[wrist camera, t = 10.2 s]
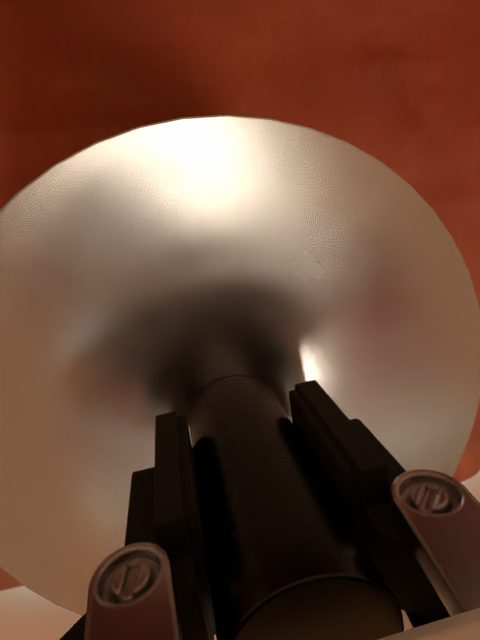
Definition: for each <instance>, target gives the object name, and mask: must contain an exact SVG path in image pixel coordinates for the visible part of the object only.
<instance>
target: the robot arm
mask: <svg viewBox="0 0 480 640" xmlns="http://www.w3.org/2000/svg"><path fill="white" fill-rule="evenodd" d="M289 400H290V408H291V415H292V423H293V425H294V427H295V429H296V430H297V432H298V434H299V435H300V437H301V439H302V440H303V442H304V444H305V446H306V447H307V449H308V451H309V452H310V454H311V456H312V457H313V459H314V461H315V462H316V464H317V466H318V468H319V469H320V471H321V473H322V474H323V476H324V478H325V479H326V481H327V483H328V484H329V486H330V488H331V490H332V491H333V493H334V495H335V496H336V498H337V500H338V501H339V503H340V505H341V506H342V508H343V510H344V511H345V513H346V515H347V517H348V518H349V520H350V522H351V523H352V525H353V527H354V528H355V530H356V532H357V533H358V535H359V537H360V539H361V540H362V542H363V544H364V545H365V547H366V549H367V550H368V552H369V554H370V555H371V557H372V559H373V561H374V562H375V564H376V566H377V567H378V569H379V571H380V572H381V574H382V576H383V577H384V579H385V581H386V583H387V584H388V586H389V588H390V589H391V591H392V593H393V594H394V596H395V598H396V600H397V601H398V603H399V605H400V608H401V611H402V615H403V622H404V628H405V630H406V631H403V632H400V633H397V634H393V635H390V636H387V637H384V638H381V639H377V640H480V503H479V502H478V501H477V499H475V497H474V496H473V495H472V494H471V493H470V492H469V491H468V490H467V489H466V488H465V486H464V485H462V484H461V483H460V482H459V481H458V480H456V479H455V478H453V477H451V476H449V475H447V474H445V473H441V472H438V471H434V470H425V469H419V470H411V471H408V472H407V471H406V470H405V469H404V468H403V467H402V466H401V464H400V463H399V462H398V461H397V460H396V459H395V458H394V457H393V456H392V455H391V453H390V452H389V451H388V450H387V449H386V448H385V447H384V446H383V445H382V444H381V442H380V441H379V440H378V439H377V438H376V437H375V436H374V435H373V434H372V432H371V431H370V430H369V429H368V428H367V427H366V426H365V425H364V424H363V423H362V421H360V420H359V419H356V418H355V419H351V420H349V418H348V417H347V416H346V415H345V414H344V413H343V411H342V410H341V409H340V408H339V407H338V406H337V405H336V403H335V402H334V401H333V400H332V399H331V398H330V396H329V395H328V394H327V393H326V392H325V391H324V389H323V388H322V387H321V386H320V385H319V384H318V382H317V381H316V380H311V381H307V382H303V383H298V384H295V390H291V391H289ZM214 635H216V629H215V622H214V614H213V606H212V598H211V590H210V583H209V575H208V562H207V554H206V547H205V539H204V531H203V524H202V516H201V508H200V501H199V493H198V485H197V478H196V470H195V462H194V455H193V448H192V444H191V439H190V434H189V430H188V425H187V420H186V416H185V415H181V416H178V415H177V412H176V411H174V412H170V413H165V414H161V415H156V420H155V466H154V467H152V468H148V469H143V470H139V471H135V472H133V473H132V478H131V487H130V497H129V507H128V516H127V526H126V535H125V545H124V547H122V548H120V549H118V550H116V551H115V552H113V553H112V554H110V555H109V556H108V557H106V558H105V559H104V560H103V562H102V563H101V564H100V565H99V566H98V567H97V569H96V570H95V572H94V574H93V575H92V577H91V581H90V584H89V588H88V599H87V611H86V613H85V614H84V615H83V616H82V617H81V618H80V619H79V620H78V621H77V623H75V624H74V625H73V627H72V628H71V629H70V630H69V631H68V632H67V633H66V634H65V635H64V636H63V637H62V638H61V639H60V640H214Z"/></svg>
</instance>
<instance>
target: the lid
mask: <svg viewBox="0 0 480 640" xmlns="http://www.w3.org/2000/svg"><path fill="white" fill-rule="evenodd" d="M311 380H316V381H317V382H318V384H319V385H320V386H321V387H322V388H323V389H324V391H325V392H326V393H327V394H328V395H329V396H330V398H331V399H332V400H333V401H334V402H335V403H336V405H337V406H338V407H339V408H340V409H341V410H342V411H343V413H344V414H345V415H346V416H347V417H348V418H349V420H351V419H355V418H356V419H359V420H360V421H362V423H363V424H364V425H365V426H366V427H367V428H368V429H369V430H370V431H371V432H372V434H373V435H374V436H375V437H376V438H377V439H378V440H379V441H380V442H381V444H382V445H383V446H384V447H385V448H386V449H387V450H388V451H389V452H390V453H391V455H392V456H393V457H394V458H395V459H396V460H397V461H398V462H399V463H400V464H401V466H402V467H403V468H404V469H405V470H406V471H407V472H408V471H411V470H419V469H425V470H434V471H438V472H441V473H445V474H447V475H449V476H451V477H452V476H453V474H454V472H455V470H456V468H457V466H458V463H459V461H460V459H461V457H462V455H463V453H464V451H465V449H466V446H467V443H468V440H469V437H470V434H471V431H472V428H473V425H474V422H475V419H476V414H477V409H478V404H479V400H480V311H479V306H478V300H477V296H476V293H475V290H474V287H473V284H472V281H471V278H470V275H469V272H468V269H467V266H466V264H465V262H464V260H463V258H462V256H461V254H460V252H459V250H458V248H457V246H456V244H455V242H454V240H453V238H452V236H451V235H450V234H449V232H448V231H447V229H446V228H445V226H444V225H443V223H442V222H441V220H440V219H439V217H438V216H437V215H436V213H435V212H434V210H433V209H432V208H431V207H430V206H429V205H428V204H427V203H426V202H425V201H424V199H423V198H422V197H421V196H420V195H419V194H418V193H417V192H416V191H415V190H414V189H413V188H412V187H411V185H410V184H409V183H407V182H406V181H405V180H404V179H402V178H401V177H400V176H399V175H397V174H396V173H395V172H394V171H392V170H391V169H390V168H388V167H387V166H386V165H385V164H383V163H382V162H381V161H380V160H378V159H376V158H374V157H373V156H371V155H369V154H367V153H366V152H364V151H362V150H361V149H359V148H357V147H355V146H354V145H352V144H350V143H348V142H347V141H344V140H341V139H339V138H336V137H334V136H331V135H329V134H326V133H324V132H321V131H319V130H316V129H314V128H311V127H308V126H303V125H299V124H295V123H290V122H286V121H282V120H277V119H273V118H268V117H256V116H244V115H232V114H220V115H204V116H188V117H179V118H174V119H170V120H165V121H160V122H155V123H151V124H146V125H141V126H137V127H134V128H132V129H129V130H126V131H123V132H121V133H118V134H115V135H112V136H110V137H107V138H104V139H102V140H99V141H96V142H94V143H92V144H90V145H88V146H86V147H85V148H83V149H81V150H79V151H77V152H75V153H74V154H72V155H70V156H68V157H66V158H64V159H62V160H61V161H59V162H57V163H55V164H54V165H52V166H51V167H50V168H48V169H47V170H46V171H44V172H43V173H42V174H40V175H39V176H38V177H36V178H35V179H34V180H32V181H31V182H30V183H28V184H27V185H26V186H24V187H23V188H22V189H20V190H19V191H18V192H17V193H16V194H15V195H14V196H13V197H12V198H11V199H10V200H9V201H8V202H7V203H6V204H5V205H4V206H3V207H2V208H1V209H0V567H1V568H2V569H3V570H5V571H6V572H7V573H9V574H10V575H11V576H13V577H14V578H15V579H16V580H18V581H19V582H20V583H22V584H23V585H24V586H26V587H27V588H28V589H30V590H32V591H33V592H36V593H37V594H39V595H41V596H42V597H44V598H46V599H47V600H49V601H51V602H53V603H55V604H56V605H58V606H61V607H63V608H65V609H68V610H70V611H73V612H75V613H77V614H80V615H82V616H83V615H84V614H85V613H86V611H87V599H88V588H89V584H90V581H91V577H92V575H93V574H94V572H95V570H96V569H97V567H98V566H99V565H100V564H101V563H102V562H103V560H104V559H105V558H106V557H108V556H109V555H110V554H112V553H113V552H115V551H116V550H118V549H120V548H122V547H124V545H125V535H126V526H127V516H128V507H129V497H130V487H131V478H132V473H133V472H135V471H139V470H143V469H148V468H152V467H154V466H155V420H156V415H161V414H165V413H170V412H174V411H176V412H177V415H178V416H181V415H185V416H186V420H187V425H188V430H189V434H190V439H191V444H192V448H193V455H194V462H195V470H196V478H197V485H198V493H199V501H200V508H201V516H202V524H203V531H204V539H205V547H206V554H207V562H208V575H209V583H210V590H211V598H212V606H213V614H214V622H215V629H216V637H217V640H377V639H381V638H384V637H387V636H390V635H393V634H397V633H400V632H403V631H404V622H403V615H402V611H401V608H400V605H399V603H398V601H397V600H396V598H395V596H394V594H393V593H392V591H391V589H390V588H389V586H388V584H387V583H386V581H385V579H384V577H383V576H382V574H381V572H380V571H379V569H378V567H377V566H376V564H375V562H374V561H373V559H372V557H371V555H370V554H369V552H368V550H367V549H366V547H365V545H364V544H363V542H362V540H361V539H360V537H359V535H358V533H357V532H356V530H355V528H354V527H353V525H352V523H351V522H350V520H349V518H348V517H347V515H346V513H345V511H344V510H343V508H342V506H341V505H340V503H339V501H338V500H337V498H336V496H335V495H334V493H333V491H332V490H331V488H330V486H329V484H328V483H327V481H326V479H325V478H324V476H323V474H322V473H321V471H320V469H319V468H318V466H317V464H316V462H315V461H314V459H313V457H312V456H311V454H310V452H309V451H308V449H307V447H306V446H305V444H304V442H303V440H302V439H301V437H300V435H299V434H298V432H297V430H296V429H295V427H294V425H293V423H292V415H291V408H290V400H289V391H291V390H295V384H298V383H303V382H307V381H311Z"/></svg>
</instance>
